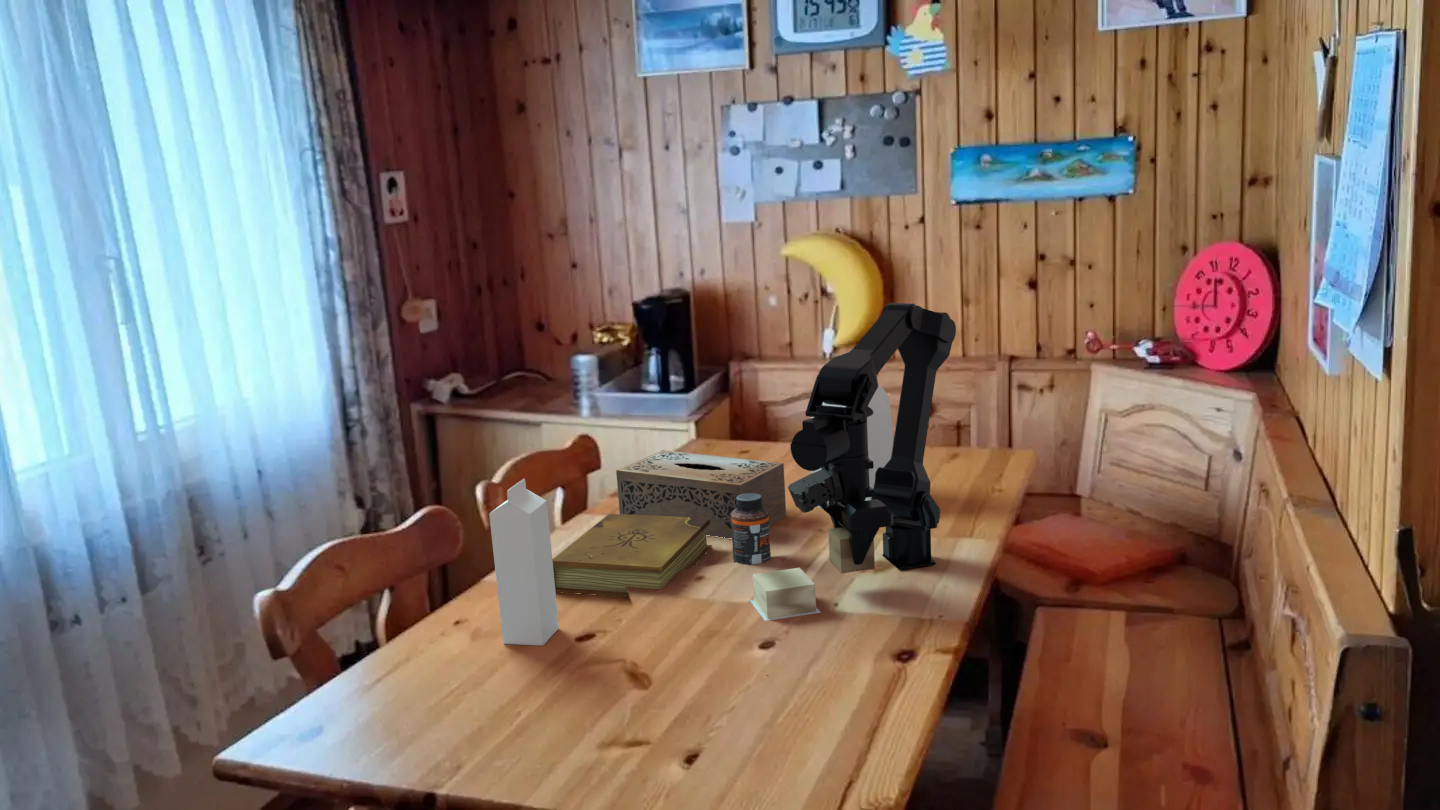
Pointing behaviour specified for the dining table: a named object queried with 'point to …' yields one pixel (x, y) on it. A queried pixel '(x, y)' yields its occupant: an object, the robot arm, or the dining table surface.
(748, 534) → the supplement bottle
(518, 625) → the milk
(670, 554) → the diary
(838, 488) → the robot arm
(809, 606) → the maple block
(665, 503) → the tissue box cover
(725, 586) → the dining table surface
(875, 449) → the milk
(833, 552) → the walnut cube
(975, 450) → the dining table surface
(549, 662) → the dining table surface
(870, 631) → the dining table surface
